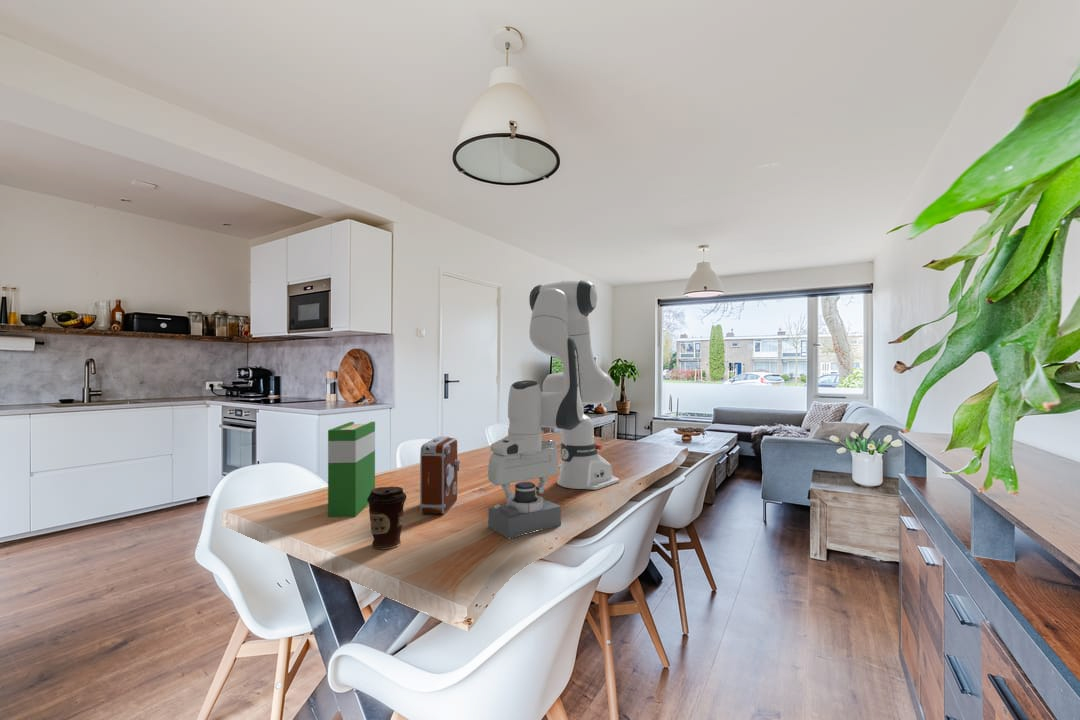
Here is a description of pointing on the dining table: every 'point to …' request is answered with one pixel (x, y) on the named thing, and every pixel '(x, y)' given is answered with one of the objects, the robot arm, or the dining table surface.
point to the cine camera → (438, 475)
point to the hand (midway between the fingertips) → (524, 496)
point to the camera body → (523, 517)
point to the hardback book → (350, 468)
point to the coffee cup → (386, 516)
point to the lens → (525, 492)
